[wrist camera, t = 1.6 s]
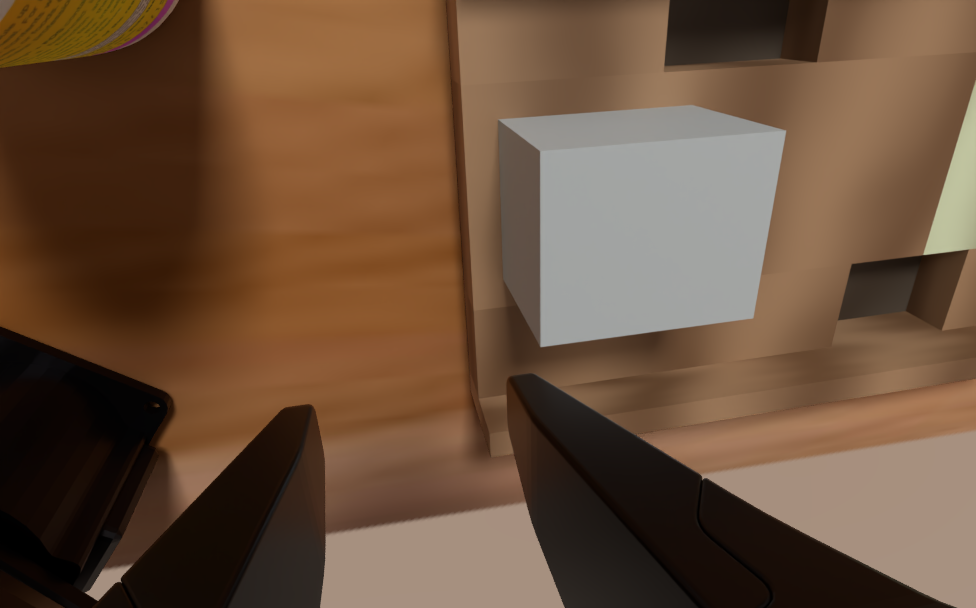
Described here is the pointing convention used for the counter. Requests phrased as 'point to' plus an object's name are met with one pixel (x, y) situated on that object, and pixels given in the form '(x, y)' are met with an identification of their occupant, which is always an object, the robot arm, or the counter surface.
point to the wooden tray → (796, 209)
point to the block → (635, 219)
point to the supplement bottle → (74, 27)
